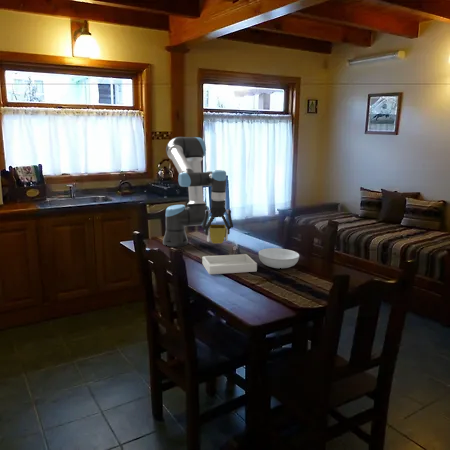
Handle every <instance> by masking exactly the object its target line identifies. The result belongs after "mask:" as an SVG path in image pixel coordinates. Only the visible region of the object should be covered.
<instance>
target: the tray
mask: <svg viewBox="0 0 450 450" xmlns="http://www.w3.org/2000/svg"><path fill="white" fill-rule="evenodd" d="M201 259H202V260H201V262H202V266H203V267H204V268H205V270H206V271H207V273H208V275H219V274H220V275H221V274H235V273H237V274H238V273H249V272H250V273H251V272H252V273H253V272H257V270H258V263H257V262H256V261H255V260H254V259H252V258H251V257H250V256H249V255H248V254H247V253H243V254H224V255H204V256H202V258H201Z"/></svg>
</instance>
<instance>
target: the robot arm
mask: <svg viewBox="0 0 450 450" xmlns="http://www.w3.org/2000/svg"><path fill="white" fill-rule="evenodd" d="M205 143H206V142H205V140H204V139H203V138H201V137H199V136H198V137H196V136H176V137H173V138H171V139H170V140H169V141H168V142H167V144H166V148H165V153H166V155H167V157H168V158H169V159H170V160H171V161H172V163H173V165H174V167H175V169H176V171H177V173H178V177H177V178H178V179H177V181H178V185H179V186H180V187H182V188H185V187H186V188H188V203H187V204H186V205H185V204H174V205H173V204H172V205H170V206H167V208H166V209H165V233H164V236H163V238H162V244H163V246H166V245H167V246H166V247H175V248H177V247H178V248H179V247H183V246H187V245H188V244H189V239H188V236H187V233H186V227H194V226H195V227H196V226H197V227H199V226H201V227H202V229H204V230H205V232H204V233H205V236H206V241H207V242H208V243H209V242H210V240H211V238H210V229H209V227H210V225H212V223H213V221H214V220H215V218H222V220H223V223H224V225H226V233H225V239H224V241H226V242H228V240H229V239H228V238H229V237H228V236H229V235H230V232H231V229H232V228H234V223H233V218H232V215H231V214H232V210H231V209H226V195H227V194H226V190H227V172H226V170H222V169H214V170H212V171H205V172H202V161H203V160H204V157H205V156H206V154H207V153H206V152H207V145H206V144H205ZM203 187H211V198H210V199H211V200H210V201H211V202H210V207H209V206H208V205H207V203H206V202H205V201H204V191H203ZM225 213H226V214H227V218H228V220H227V219H226V217H225ZM210 215H211V216H210ZM228 222H229V223H228Z"/></svg>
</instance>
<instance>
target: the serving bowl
mask: <svg viewBox="0 0 450 450" xmlns="http://www.w3.org/2000/svg"><path fill="white" fill-rule="evenodd" d="M258 258H259V260H260V262H261V263H262V264H263V265H265V266H267V267H270V268H273V269H280V268H281V269H288V268H291V267H294V266H295V265H296V264H297V263H298V261H299V259H300V254H299V253H298V252H297V251H294V250H291V249H287V248H286V249H285V248H276V247H272V248H271V247H270V248H269V247H268V248H264V249H261V250H259V251H258Z"/></svg>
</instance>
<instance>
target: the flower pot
mask: <svg viewBox="0 0 450 450" xmlns="http://www.w3.org/2000/svg"><path fill="white" fill-rule="evenodd" d="M226 228H227V227H226V225H225V224H211V225H210V227H209V230H210V240H211V243H212V244H223V243H224V241H225V233H226Z"/></svg>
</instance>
